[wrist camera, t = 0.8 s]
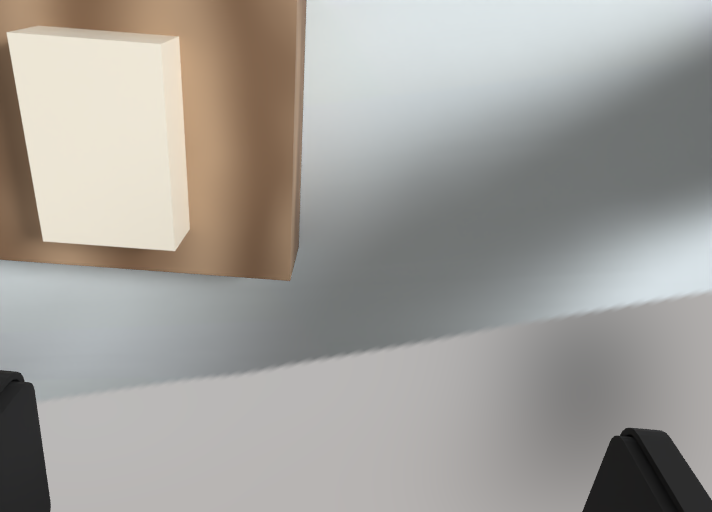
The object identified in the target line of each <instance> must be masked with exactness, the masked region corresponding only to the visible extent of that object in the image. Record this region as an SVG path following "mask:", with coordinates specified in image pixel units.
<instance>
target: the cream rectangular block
mask: <svg viewBox="0 0 712 512" xmlns="http://www.w3.org/2000/svg"><path fill="white" fill-rule="evenodd" d="M6 33H7V38H8V44H9V50H10V55H11V61H12V67H13V72H14V78H15V84H16V90H17V95H18V101H19V107H20V112H21V118H22V124H23V129H24V135H25V141H26V146H27V152H28V158H29V164H30V169H31V175H32V181H33V186H34V192H35V198H36V203H37V209H38V215H39V221H40V226H41V232H42V238H43V241H44V242H58V243H72V244H85V245H99V246H112V247H126V248H139V249H153V250H167V251H176V249H177V248H178V246H179V245H180V243H181V242H182V240H183V239H184V237H185V236H186V234H187V233H188V231H189V230H190V222H189V205H188V187H187V169H186V151H185V134H184V116H183V98H182V80H181V63H180V45H179V36H166V35H153V34H140V33H127V32H114V31H102V30H89V29H76V28H63V27H50V26H34V27H29V28H24V29H20V30H15V31H10V32H6Z"/></svg>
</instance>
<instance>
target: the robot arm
mask: <svg viewBox="0 0 712 512" xmlns="http://www.w3.org/2000/svg"><path fill="white" fill-rule="evenodd" d="M50 505H51V504H50V496H49V489H48V482H47V475H46V468H45V460H44V453H43V447H42V439H41V432H40V425H39V418H38V411H37V404H36V397H35V390H34V386H33V385H32V383H29V382H24V378H23V376H22V375H21V373H19V372H13V371H2V370H0V512H50V508H51V506H50ZM582 512H712V500H711V498H710V497H709V496H708V494H707V492H706V491H705V490H704V488H703V486H702V485H701V483H700V482H699V480H698V479H697V477H696V476H695V474H694V473H693V471H692V470H691V468H690V467H689V465H688V464H687V462H686V461H685V459H684V458H683V456H682V455H681V453H680V452H679V450H678V449H677V447H676V446H675V444H674V443H673V441H672V440H671V438H670V437H669V436H668V435H667V433H665V432H663V431H660V430H649V429H638V428H626V429H625V430H623V431H622V433H621V435H620V436H614V437H613V438H612V439H611V441H610V443H609V446H608V448H607V451H606V453H605V456H604V458H603V461H602V464H601V466H600V469H599V471H598V474H597V476H596V479H595V481H594V484H593V486H592V489H591V491H590V494H589V496H588V499H587V501H586V504H585V507H584V509H583V511H582Z"/></svg>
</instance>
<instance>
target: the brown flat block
mask: <svg viewBox="0 0 712 512" xmlns="http://www.w3.org/2000/svg"><path fill="white" fill-rule="evenodd" d="M34 26H50V27H63V28H76V29H89V30H102V31H114V32H127V33H140V34H153V35H166V36H179V45H180V63H181V80H182V98H183V116H184V134H185V151H186V169H187V187H188V205H189V222H190V230H189V231H188V233H187V234H186V236H185V237H184V239H183V240H182V242H181V243H180V245H179V246H178V248H177V249H176V251H167V250H153V249H139V248H126V247H112V246H99V245H85V244H72V243H58V242H44V241H43V238H42V232H41V226H40V221H39V215H38V209H37V203H36V198H35V192H34V186H33V181H32V175H31V169H30V164H29V158H28V152H27V146H26V141H25V135H24V129H23V124H22V118H21V112H20V107H19V101H18V95H17V90H16V84H15V78H14V72H13V67H12V61H11V55H10V50H9V44H8V38H7V33H6V32H10V31H15V30H20V29H24V28H29V27H34ZM305 26H306V0H0V260H13V261H27V262H40V263H54V264H68V265H81V266H95V267H108V268H122V269H136V270H149V271H163V272H177V273H190V274H204V275H218V276H231V277H245V278H259V279H272V280H286V281H290V279H291V275H292V271H293V267H294V263H295V259H296V255H297V251H298V247H299V218H300V186H301V154H302V122H303V90H304V58H305Z"/></svg>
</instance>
